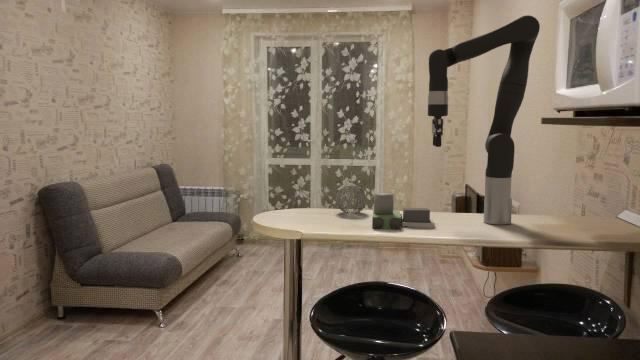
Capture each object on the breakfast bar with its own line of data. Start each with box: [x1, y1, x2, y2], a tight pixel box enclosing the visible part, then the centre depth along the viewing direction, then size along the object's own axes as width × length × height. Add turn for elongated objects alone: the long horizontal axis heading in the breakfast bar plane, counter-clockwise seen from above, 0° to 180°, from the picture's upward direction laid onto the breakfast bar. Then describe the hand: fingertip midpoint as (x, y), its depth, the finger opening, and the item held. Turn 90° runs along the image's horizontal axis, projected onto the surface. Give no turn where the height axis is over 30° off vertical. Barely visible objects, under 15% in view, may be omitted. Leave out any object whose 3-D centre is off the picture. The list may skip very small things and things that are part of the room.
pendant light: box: [335, 139, 367, 215], centre depth 217 cm, size 12×12×30 cm
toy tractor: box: [371, 192, 436, 230], centre depth 194 cm, size 22×18×11 cm
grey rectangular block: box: [402, 207, 431, 223], centre depth 194 cm, size 9×5×6 cm, turn 88°
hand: (436, 146), depth 204 cm, fingers open, 8 cm apart
